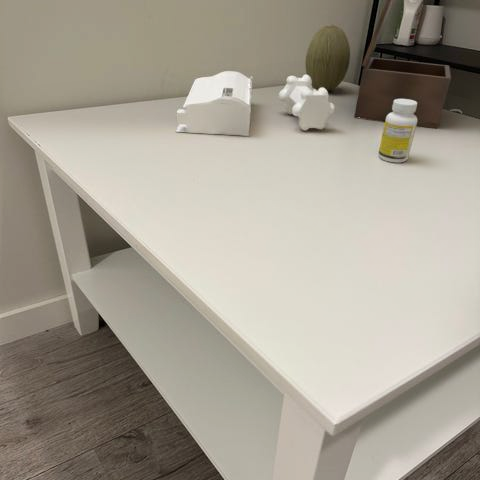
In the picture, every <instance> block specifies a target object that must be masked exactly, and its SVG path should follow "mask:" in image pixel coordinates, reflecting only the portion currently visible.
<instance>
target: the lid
mask: <svg viewBox="0 0 480 480" xmlns="http://www.w3.org/2000/svg"><path fill="white" fill-rule="evenodd" d="M393 3H394V0H386V1H385V4H384V6H383V9H382V12H381V14H380V16H379V20H378V22H377V25H376V28H375V30H374V33H373V35H372V38H371V40H370V43H369V45H368V48H367V51H366V53H365V56H364V58H363V61H362V63H361V66H362V67H363V68H364V67H366V65H367V63H368V61H369V60H370V58H371V57H372V56H373V54H374V51H375V50H376V47H377V44H378V41H379V38H380V36H381V34H382V31H383V29H384V26H385V23H386V21H387V18H388V16H389V13H390V11H391V9H392V6H393Z"/></svg>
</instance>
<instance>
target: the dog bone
mask: <svg viewBox="0 0 480 480" xmlns="http://www.w3.org/2000/svg"><path fill="white" fill-rule="evenodd" d="M285 80H286V81H285V82H286V84H285V85H284V88H283V89H281V90H280V91H279V94H278V99H279V100H280V101H281V102H284V104H285V105H284V109H285V112H286V113H287V114H288V115H293V116H294V117H298V126H299V128H300V129H301V130H302V131H304V132H305V131H308V130H309V129H317V130H323V129H325V127H326V126H327V125H326V122H327V121H328V119H329V117H330V116H332V115H333V114H334V112H335V108H336V107H335V104H334V103H332V102H330V100H329V98H330V97H329V96H330V95H329V91H327V90H326V89H325V88H323V87H322V88H319V89H318V90H317V89H315V88H314V87H313V86H312V85H311V84H312V80H311V78H310V76H309V75H307V74H306V73H305V74H303V75H302V77H297V76H295V75H289V76H288V77H287V78H286V79H285Z"/></svg>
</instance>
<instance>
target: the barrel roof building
mask: <svg viewBox="0 0 480 480" xmlns="http://www.w3.org/2000/svg"><path fill="white" fill-rule="evenodd" d="M227 90H228V91H227ZM230 94H231V95H230ZM252 94H253V76H250V77H247V76H246V75H245V74H244V73H241V72H238V71H235V70H234V71H232V70H226V71H220V72H219V73H216V74H213V75H212V76H203V77H198V78H195V79H194V82H193V84H192V86H191V88H190V90H189V93H188V95H187V97H186V99H185V101H184V104H183V106H182V108H185V109H182V108H181V109H180V108H179V109H177V111H176V124H177V125H178V126H177V128H176V130H175V132H176V133H190V134H207V135H226V136H243V137H249V136H250V126H251V111H252V110H251V109H252V108H251V107H252V97H253V95H252Z"/></svg>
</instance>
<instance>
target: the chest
mask: <svg viewBox="0 0 480 480" xmlns="http://www.w3.org/2000/svg"><path fill="white" fill-rule="evenodd" d="M450 69H451V68H450V65H447V64H438V63H429V62H428V63H427V62H419V61H408V60H399V59H390V58H380V57H372V56H371V58H370V60H369V61H368V63H367V65H366V67H364V66H363V69H362V73H361V78H360V84H359V88H358V93H357V94H358V95H357V99H356V104H355V109H354V116H353V118H354V117H360V118H366V119H365V120H368V119H371V120H370V121H375V120H377V122H383V123H385V120H386V117H387V115H388V114H389V113H391V112H393V110H392V106H393V102H394V100H395V99H409V100H413V101H416V102H417V107H416V111H415V112H414V115H415V116H416V117H417V125H416V127H421V128H427V129H428V128H429V129H435V130H436V129H437V128H438V125H439V123H440V118H441V114H442V112H443V108H444V104H445V101H446V98H447V94H448V92H449V91H448V90H449V87H450V84H451V80H452V76H451V70H450ZM360 118H359V119H360Z"/></svg>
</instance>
